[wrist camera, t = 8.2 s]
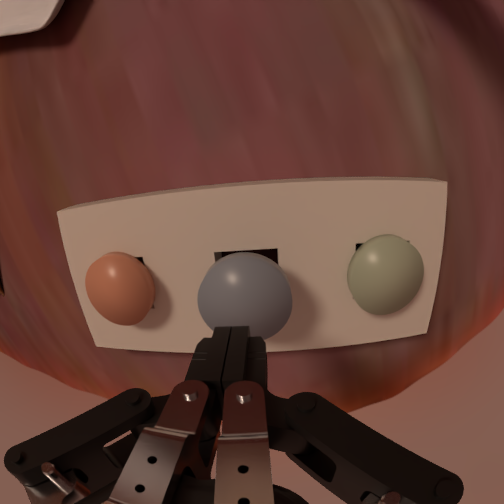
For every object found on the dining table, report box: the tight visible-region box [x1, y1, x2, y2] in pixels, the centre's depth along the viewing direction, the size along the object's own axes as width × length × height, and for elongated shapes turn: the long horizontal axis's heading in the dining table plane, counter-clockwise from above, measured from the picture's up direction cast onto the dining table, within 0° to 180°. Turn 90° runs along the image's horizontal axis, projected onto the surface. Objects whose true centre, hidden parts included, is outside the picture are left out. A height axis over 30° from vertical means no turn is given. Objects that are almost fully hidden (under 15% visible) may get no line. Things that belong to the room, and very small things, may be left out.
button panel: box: [57, 177, 447, 353], centre depth 20 cm, size 28×12×2 cm, turn 95°
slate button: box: [197, 252, 292, 340], centre depth 17 cm, size 5×5×4 cm
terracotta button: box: [85, 252, 155, 326], centre depth 20 cm, size 5×5×4 cm
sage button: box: [347, 234, 424, 315], centre depth 18 cm, size 5×5×4 cm
